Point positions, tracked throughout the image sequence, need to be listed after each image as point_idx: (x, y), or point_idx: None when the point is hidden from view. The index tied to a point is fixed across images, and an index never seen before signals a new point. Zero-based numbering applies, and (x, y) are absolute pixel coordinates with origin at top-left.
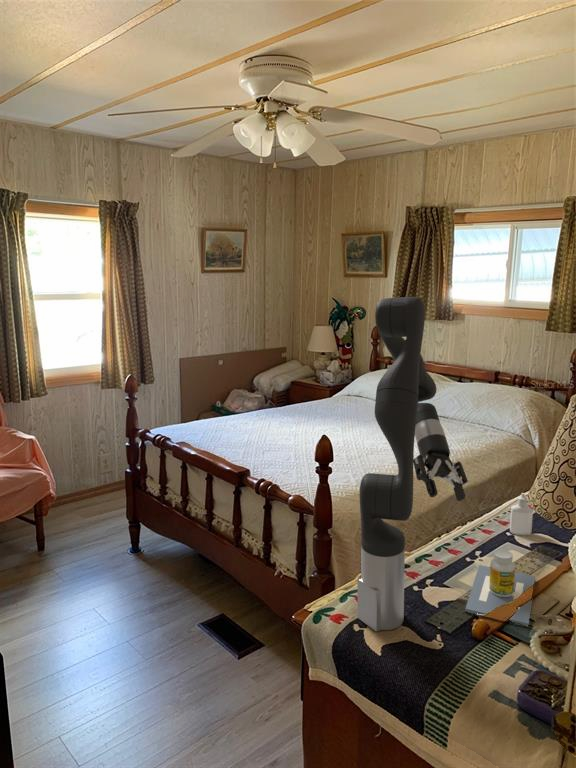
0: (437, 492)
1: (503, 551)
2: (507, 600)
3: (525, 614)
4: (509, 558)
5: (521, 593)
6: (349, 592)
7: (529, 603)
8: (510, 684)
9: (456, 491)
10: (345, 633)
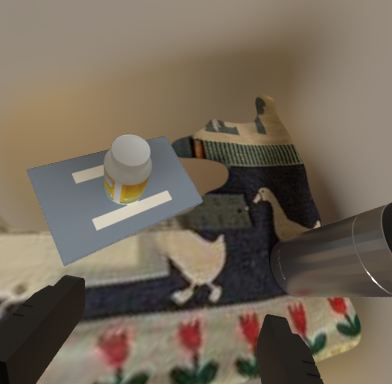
0: (270, 316)
1: (121, 152)
2: None
3: (151, 144)
4: (137, 136)
5: None
6: None
7: None
8: (244, 126)
9: (44, 355)
10: None
